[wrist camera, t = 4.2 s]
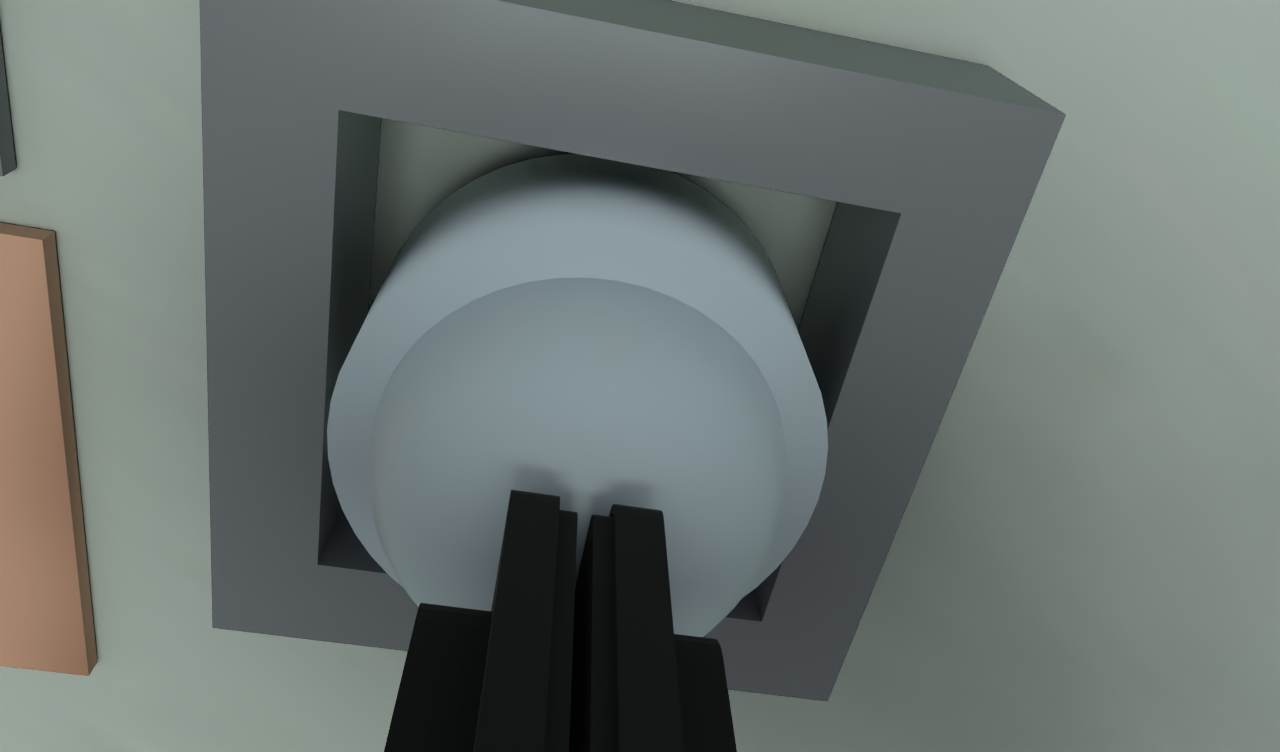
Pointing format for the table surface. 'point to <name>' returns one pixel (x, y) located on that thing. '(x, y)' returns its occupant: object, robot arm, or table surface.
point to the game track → (38, 458)
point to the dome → (579, 384)
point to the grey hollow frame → (620, 131)
